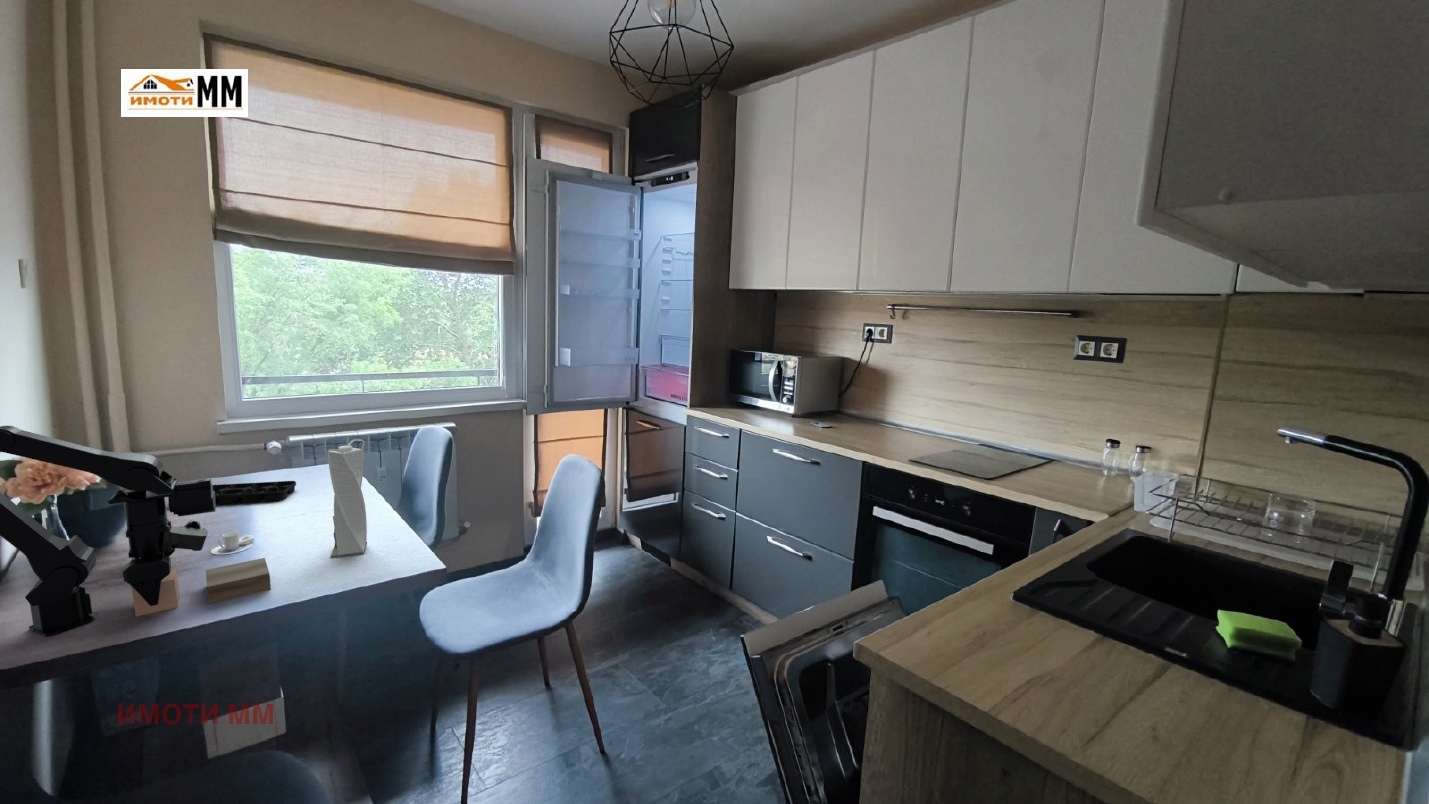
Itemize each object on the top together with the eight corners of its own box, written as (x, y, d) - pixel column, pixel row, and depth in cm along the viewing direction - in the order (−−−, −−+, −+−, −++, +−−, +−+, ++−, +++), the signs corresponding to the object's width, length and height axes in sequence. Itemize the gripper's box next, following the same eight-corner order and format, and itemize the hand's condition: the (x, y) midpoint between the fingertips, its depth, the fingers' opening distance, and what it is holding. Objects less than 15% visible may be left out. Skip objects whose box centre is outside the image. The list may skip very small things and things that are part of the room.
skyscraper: (373, 542, 150) (366, 435, 146) (370, 554, 143) (363, 442, 138) (334, 547, 146) (326, 437, 142) (329, 559, 139) (320, 444, 135)
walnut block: (271, 591, 124) (269, 573, 124) (209, 605, 118) (206, 587, 117) (266, 574, 132) (264, 557, 131) (207, 587, 125) (205, 569, 125)
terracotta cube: (177, 607, 116) (174, 579, 115) (135, 617, 112) (131, 587, 112) (179, 595, 121) (176, 568, 120) (139, 604, 117) (135, 576, 116)
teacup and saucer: (251, 540, 150) (250, 524, 150) (260, 548, 145) (259, 533, 145) (207, 550, 144) (205, 534, 143) (215, 559, 139) (213, 543, 138)
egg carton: (180, 498, 180) (178, 486, 179) (299, 486, 194) (298, 475, 194) (162, 516, 165) (160, 503, 164) (293, 501, 180) (292, 490, 179)
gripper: (200, 526, 112) (208, 602, 114) (203, 500, 126) (211, 568, 128) (117, 539, 105) (128, 620, 107) (131, 510, 119) (140, 582, 121)
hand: (156, 595), depth 116 cm, fingers open, 9 cm apart
